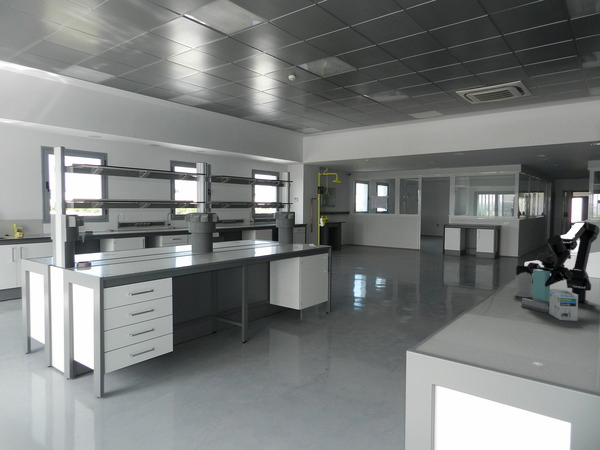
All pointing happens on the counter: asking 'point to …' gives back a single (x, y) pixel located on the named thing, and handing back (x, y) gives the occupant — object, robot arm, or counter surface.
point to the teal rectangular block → (541, 285)
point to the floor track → (536, 304)
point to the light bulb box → (563, 305)
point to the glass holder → (523, 282)
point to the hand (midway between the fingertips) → (538, 284)
